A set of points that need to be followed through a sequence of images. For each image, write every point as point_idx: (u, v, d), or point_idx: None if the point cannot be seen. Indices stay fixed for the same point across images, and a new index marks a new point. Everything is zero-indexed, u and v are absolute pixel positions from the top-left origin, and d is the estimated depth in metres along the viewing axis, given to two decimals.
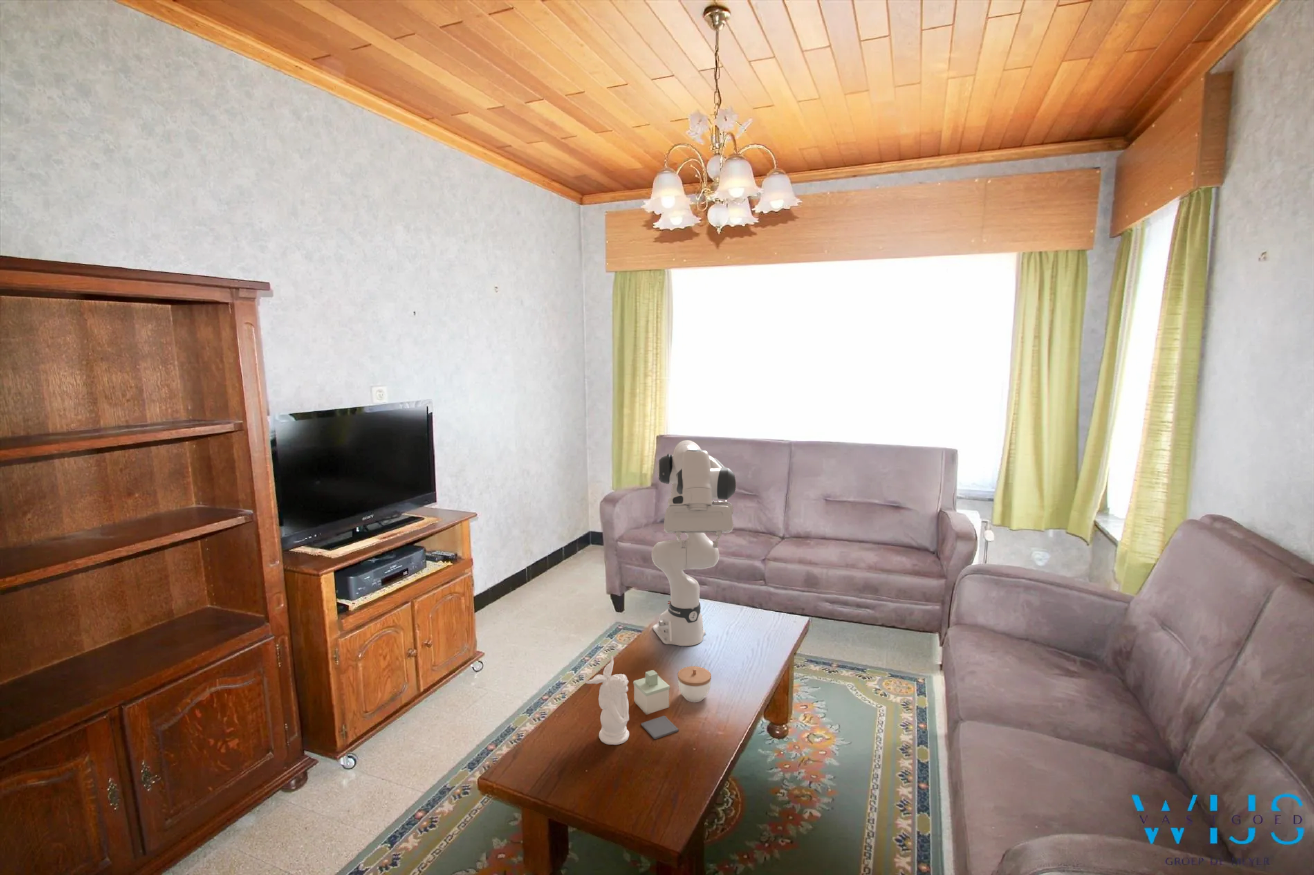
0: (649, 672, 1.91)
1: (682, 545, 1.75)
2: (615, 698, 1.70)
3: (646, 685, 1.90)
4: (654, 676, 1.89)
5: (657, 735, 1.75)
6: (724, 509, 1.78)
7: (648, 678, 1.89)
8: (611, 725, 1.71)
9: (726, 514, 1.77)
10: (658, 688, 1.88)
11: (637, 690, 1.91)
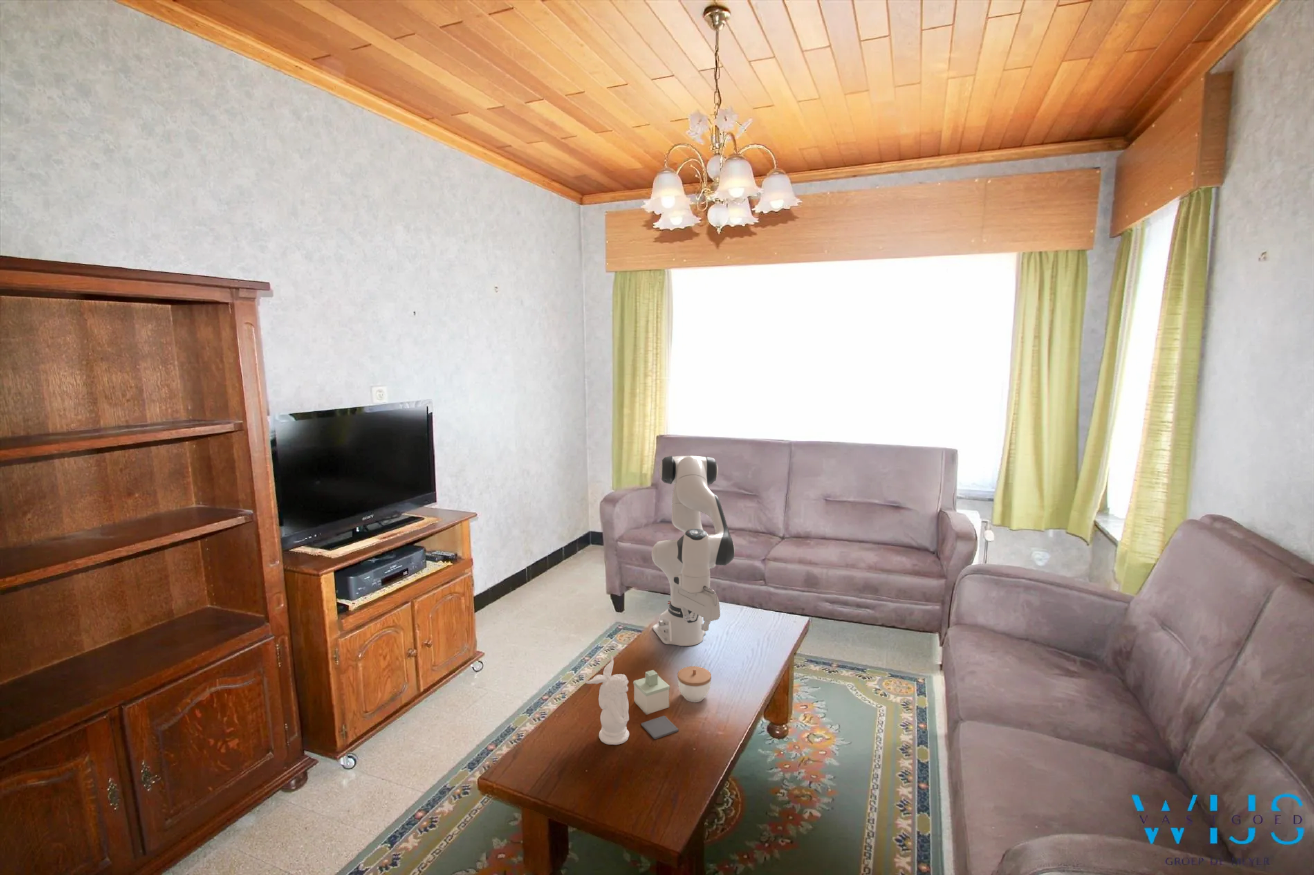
0: (649, 672, 1.91)
1: (684, 619, 1.95)
2: (615, 698, 1.70)
3: (646, 685, 1.90)
4: (654, 676, 1.89)
5: (657, 735, 1.75)
6: (706, 600, 1.83)
7: (648, 678, 1.89)
8: (611, 725, 1.71)
9: (707, 605, 1.83)
10: (658, 688, 1.88)
11: (637, 690, 1.91)
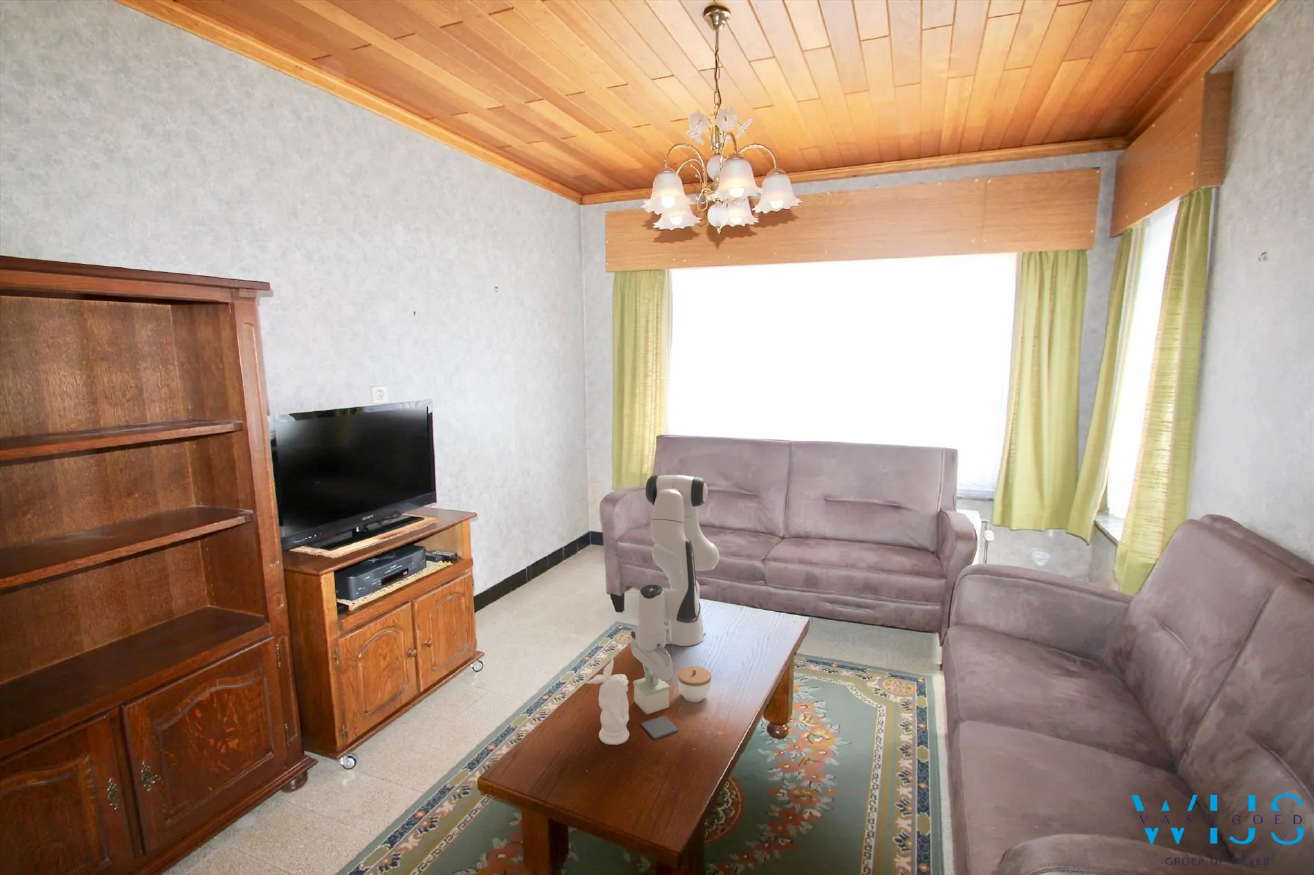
0: (649, 672, 1.91)
1: None
2: (615, 698, 1.70)
3: (646, 685, 1.90)
4: None
5: (657, 735, 1.75)
6: (658, 659, 1.82)
7: (648, 678, 1.89)
8: (611, 725, 1.71)
9: (659, 665, 1.82)
10: (658, 688, 1.88)
11: (637, 690, 1.91)
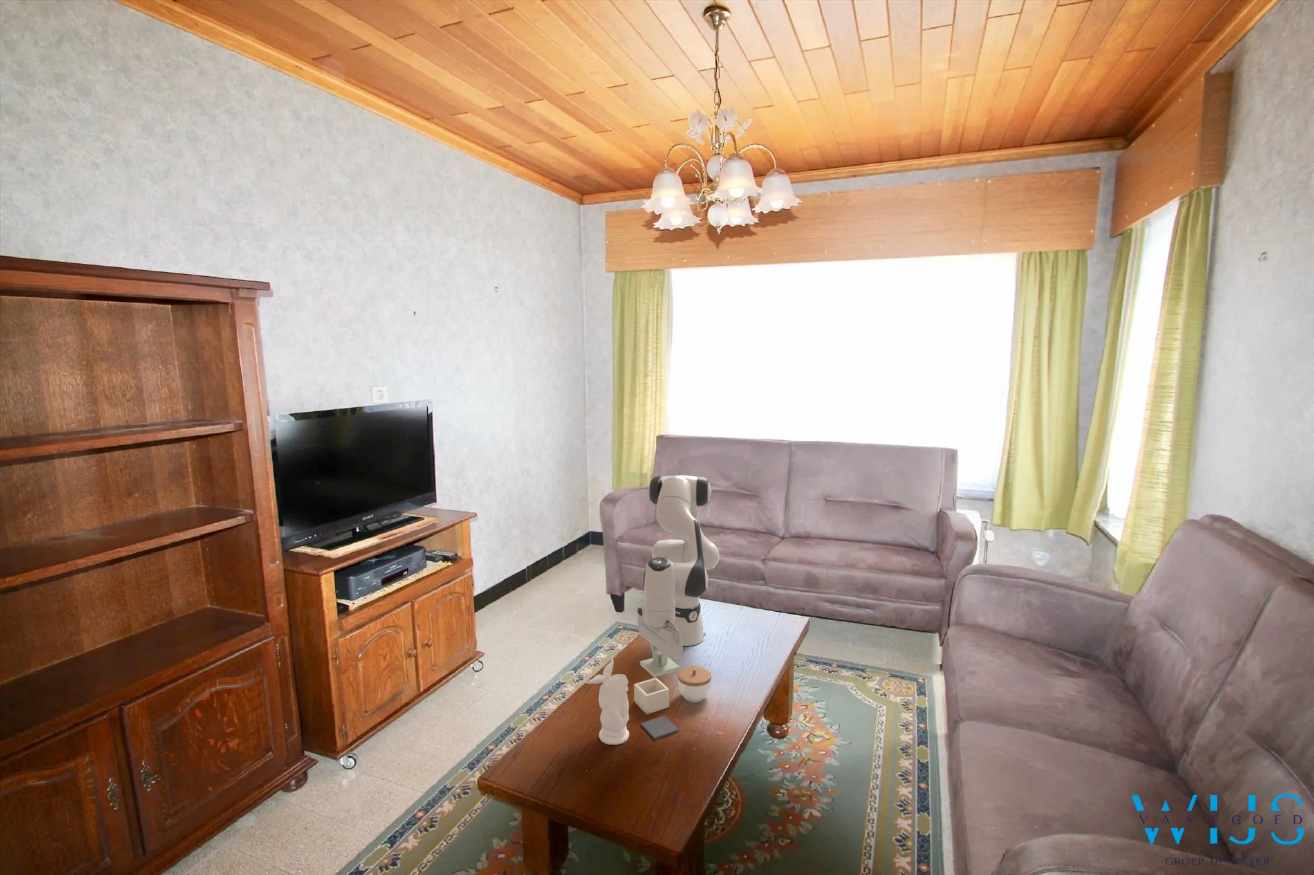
0: (657, 652, 1.77)
1: None
2: (615, 698, 1.70)
3: (654, 665, 1.76)
4: None
5: (657, 735, 1.75)
6: (668, 637, 1.68)
7: (656, 658, 1.75)
8: (611, 725, 1.71)
9: (668, 642, 1.68)
10: (667, 668, 1.74)
11: (637, 690, 1.91)
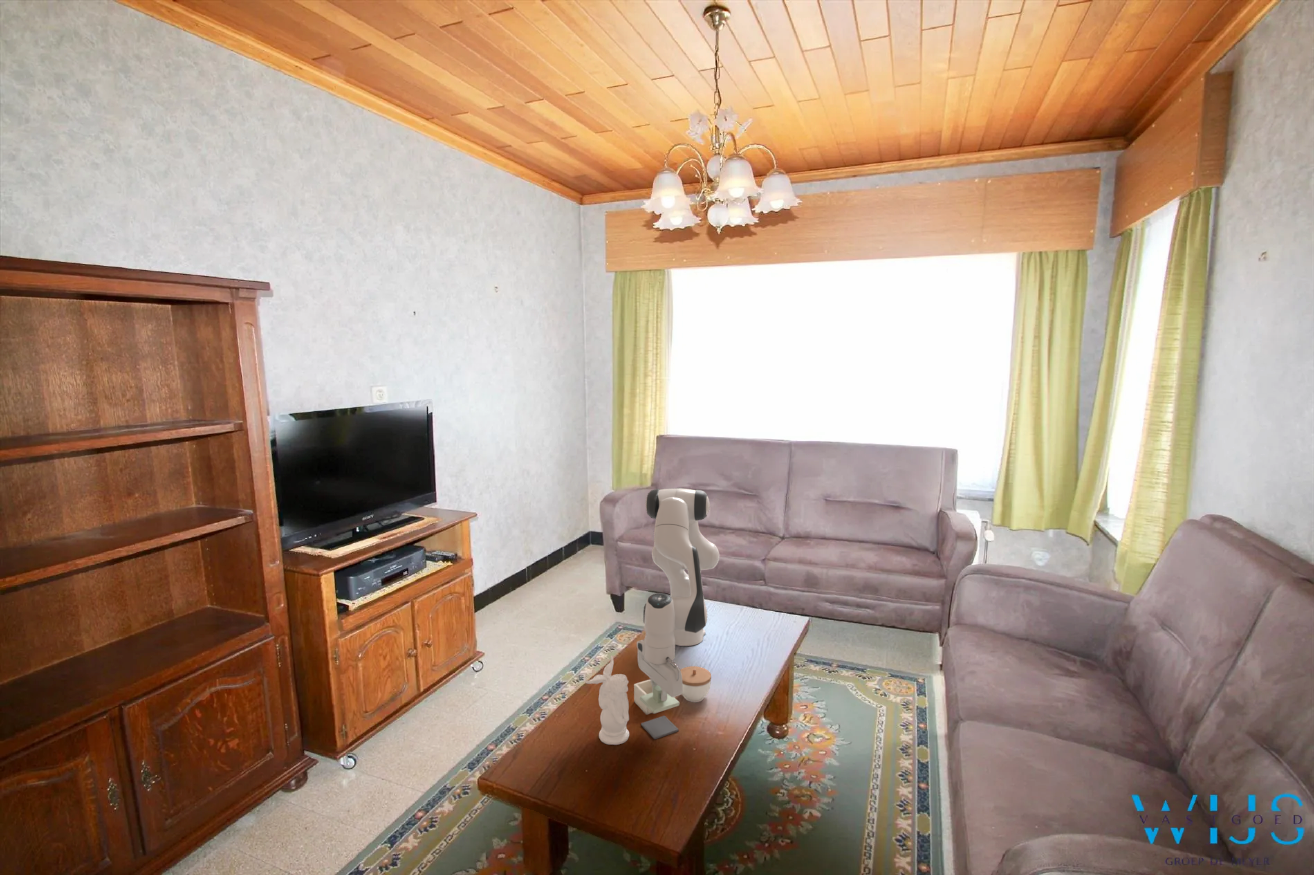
0: (657, 687, 1.78)
1: None
2: (615, 698, 1.70)
3: (654, 701, 1.77)
4: None
5: (657, 735, 1.75)
6: (667, 674, 1.69)
7: (656, 693, 1.77)
8: (611, 725, 1.71)
9: (668, 679, 1.69)
10: (667, 704, 1.75)
11: (637, 690, 1.91)
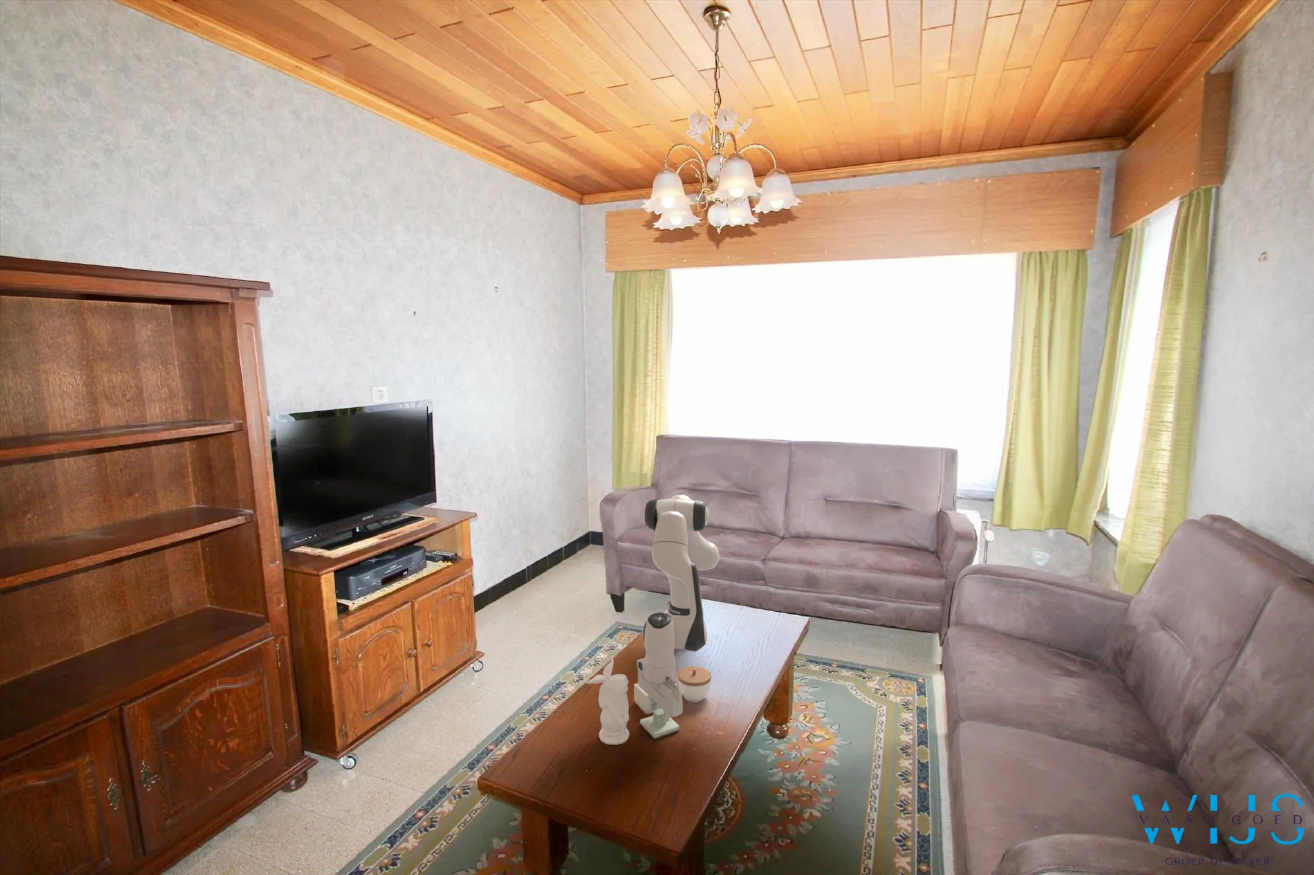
0: (657, 711, 1.79)
1: (651, 708, 1.81)
2: (615, 698, 1.70)
3: (654, 725, 1.78)
4: None
5: None
6: (667, 694, 1.70)
7: (656, 717, 1.78)
8: (611, 725, 1.71)
9: (668, 700, 1.70)
10: (667, 728, 1.76)
11: (637, 690, 1.91)
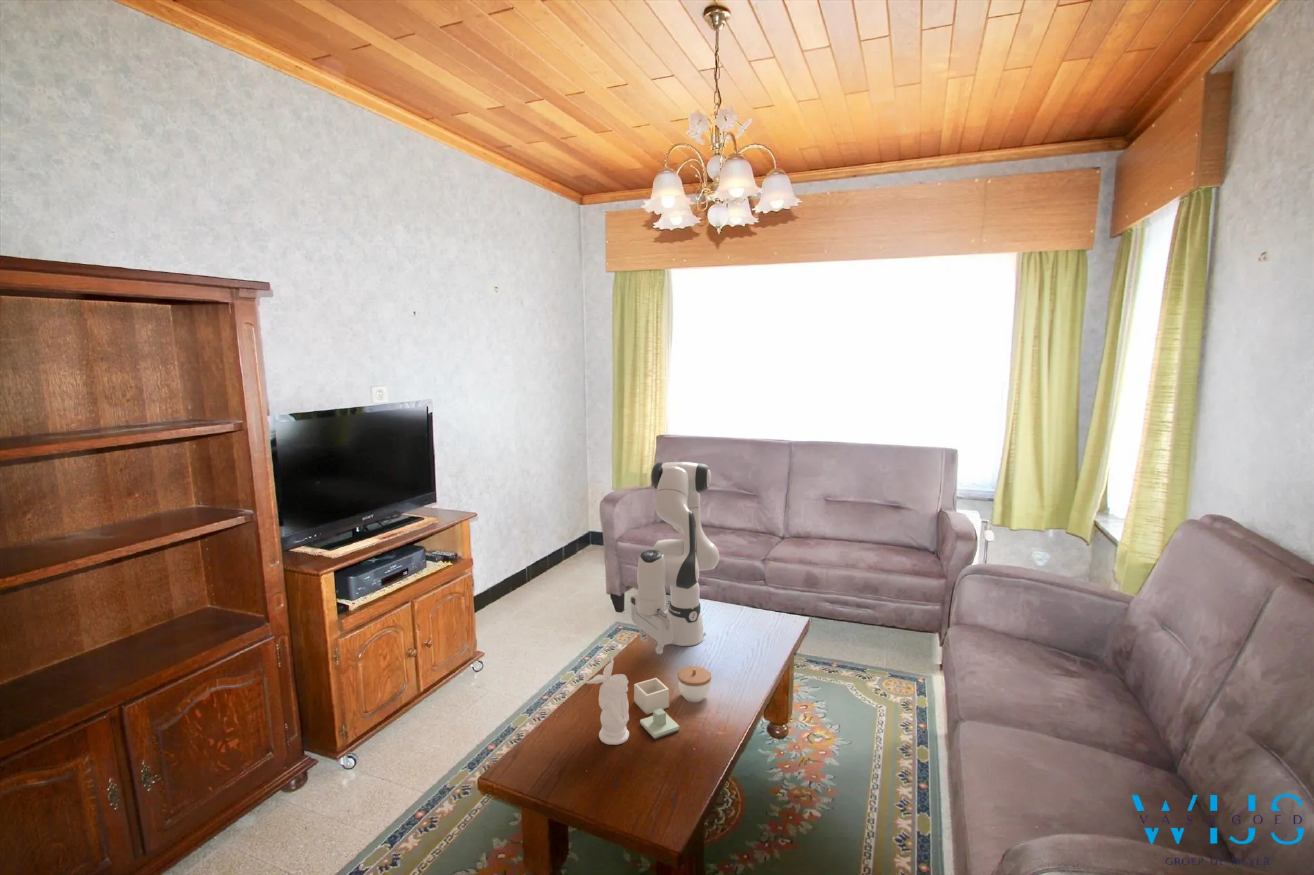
0: (657, 711, 1.79)
1: (641, 639, 1.93)
2: (615, 698, 1.70)
3: (654, 725, 1.78)
4: (662, 715, 1.78)
5: None
6: (658, 623, 1.80)
7: (656, 717, 1.78)
8: (611, 725, 1.71)
9: (659, 629, 1.80)
10: (667, 728, 1.76)
11: (637, 690, 1.91)
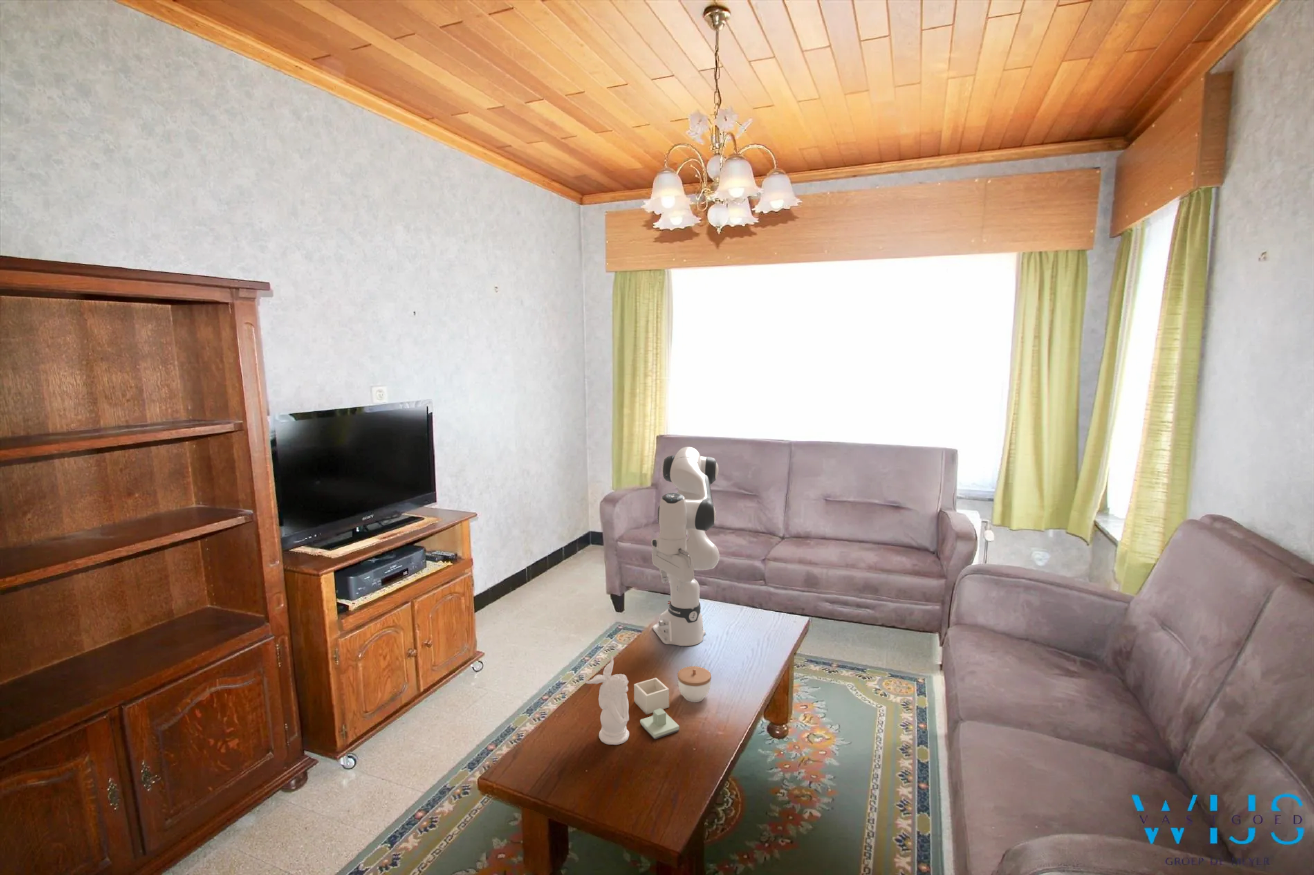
0: (657, 711, 1.79)
1: (662, 581, 1.99)
2: (615, 698, 1.70)
3: (654, 725, 1.78)
4: (662, 715, 1.78)
5: None
6: (680, 562, 1.87)
7: (656, 717, 1.78)
8: (611, 725, 1.71)
9: (681, 567, 1.87)
10: (667, 728, 1.76)
11: (637, 690, 1.91)
